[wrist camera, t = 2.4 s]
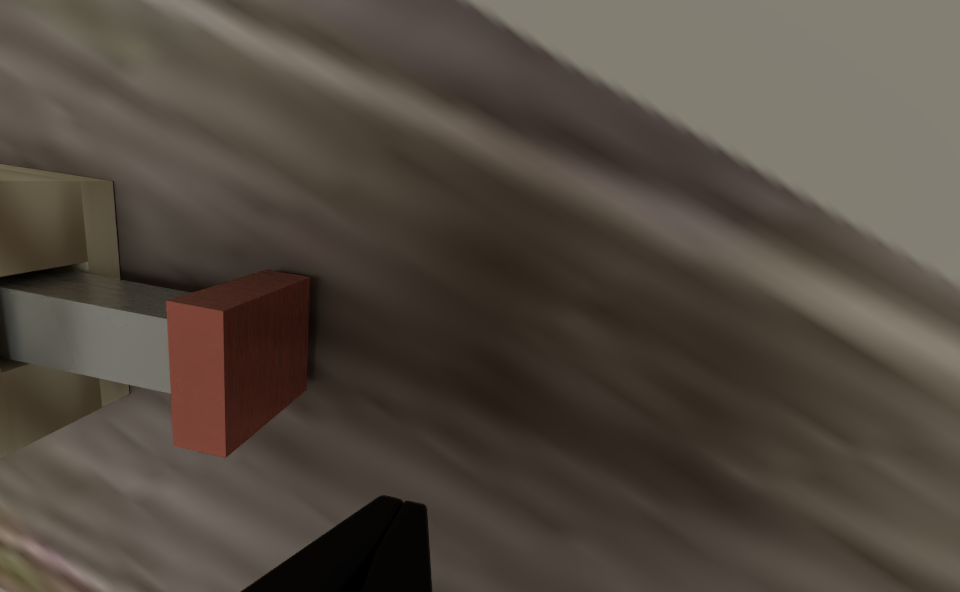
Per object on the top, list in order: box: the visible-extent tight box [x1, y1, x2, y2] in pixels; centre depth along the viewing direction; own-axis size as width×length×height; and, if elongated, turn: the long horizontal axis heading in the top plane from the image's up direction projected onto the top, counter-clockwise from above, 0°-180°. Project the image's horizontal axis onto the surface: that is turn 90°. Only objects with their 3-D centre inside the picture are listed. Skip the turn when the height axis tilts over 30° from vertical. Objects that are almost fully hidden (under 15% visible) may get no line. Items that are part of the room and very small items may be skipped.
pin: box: [0, 268, 310, 458], centre depth 14 cm, size 4×12×4 cm, turn 82°
